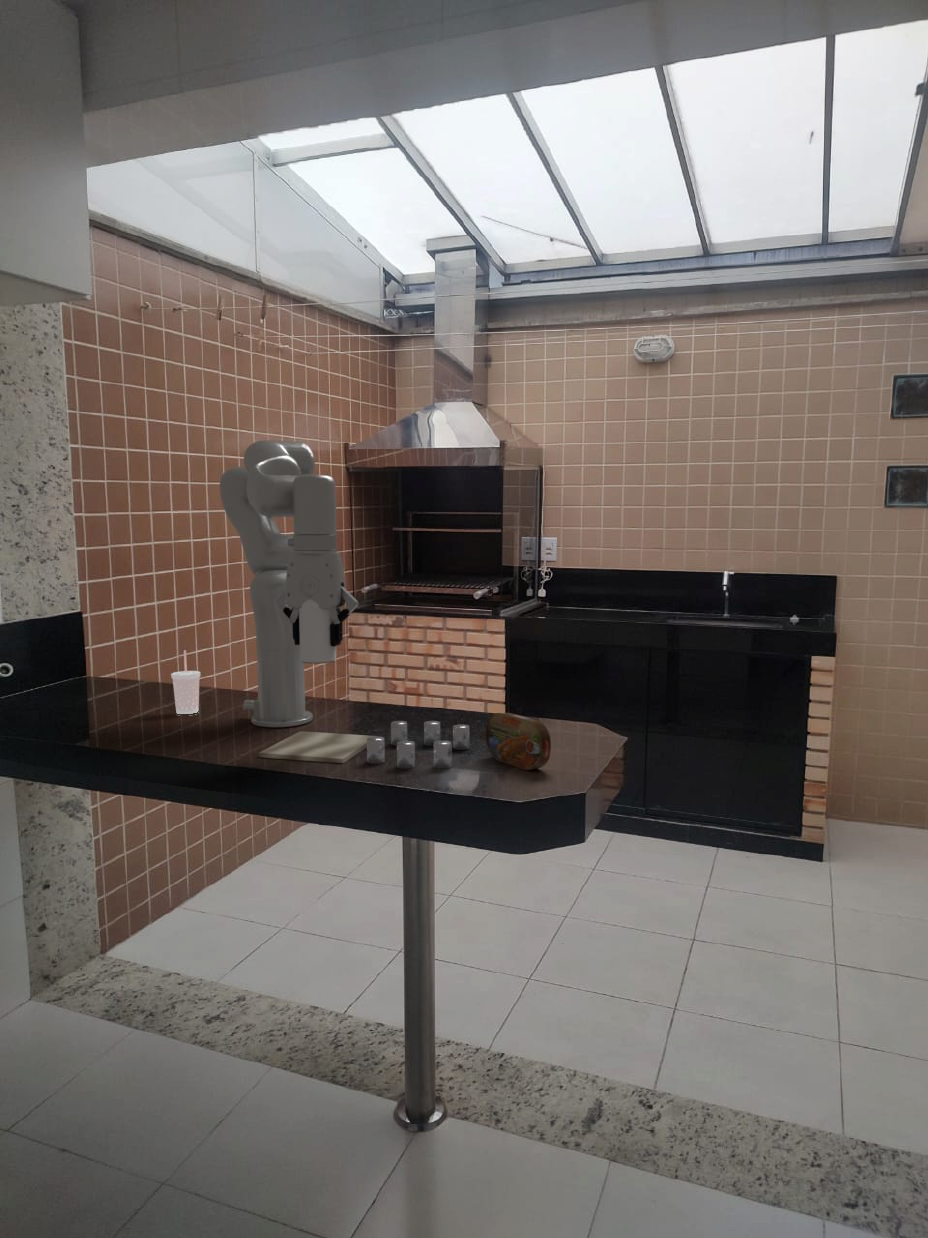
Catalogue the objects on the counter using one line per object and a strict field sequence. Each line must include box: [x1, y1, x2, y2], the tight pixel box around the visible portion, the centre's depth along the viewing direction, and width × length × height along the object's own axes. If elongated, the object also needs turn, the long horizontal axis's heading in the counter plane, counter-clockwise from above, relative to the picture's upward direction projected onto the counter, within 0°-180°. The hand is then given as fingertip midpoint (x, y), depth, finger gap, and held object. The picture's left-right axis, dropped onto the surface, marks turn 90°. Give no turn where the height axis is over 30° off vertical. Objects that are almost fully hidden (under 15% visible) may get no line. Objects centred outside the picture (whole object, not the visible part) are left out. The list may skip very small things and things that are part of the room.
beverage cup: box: [170, 649, 201, 715], centre depth 178 cm, size 6×6×14 cm
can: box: [299, 596, 337, 665], centre depth 146 cm, size 6×6×12 cm
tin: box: [485, 712, 552, 771], centre depth 138 cm, size 15×3×8 cm, turn 35°
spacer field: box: [366, 720, 470, 770], centre depth 144 cm, size 15×18×4 cm
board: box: [258, 731, 376, 764], centre depth 149 cm, size 16×16×1 cm
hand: (317, 643), depth 147 cm, fingers closed on can, 6 cm apart
